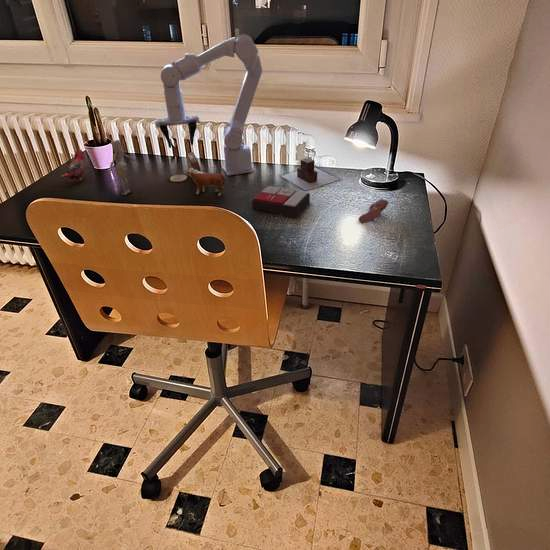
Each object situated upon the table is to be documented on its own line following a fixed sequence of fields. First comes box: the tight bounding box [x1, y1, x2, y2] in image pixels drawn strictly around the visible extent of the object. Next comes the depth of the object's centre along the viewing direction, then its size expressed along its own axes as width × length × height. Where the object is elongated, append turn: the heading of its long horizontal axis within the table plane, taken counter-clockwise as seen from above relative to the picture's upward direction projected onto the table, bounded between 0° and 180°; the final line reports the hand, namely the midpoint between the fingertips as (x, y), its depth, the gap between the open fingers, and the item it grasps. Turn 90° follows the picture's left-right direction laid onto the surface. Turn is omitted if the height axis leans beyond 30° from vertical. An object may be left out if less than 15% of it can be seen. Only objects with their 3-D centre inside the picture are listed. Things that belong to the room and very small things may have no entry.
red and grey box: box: [251, 185, 311, 219], centre depth 131 cm, size 11×4×15 cm
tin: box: [185, 151, 202, 172], centre depth 147 cm, size 15×3×8 cm, turn 19°
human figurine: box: [107, 139, 136, 196], centre depth 135 cm, size 12×4×18 cm, turn 155°
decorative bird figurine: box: [59, 148, 86, 184], centre depth 145 cm, size 3×18×10 cm, turn 174°
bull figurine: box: [186, 168, 226, 197], centre depth 138 cm, size 4×13×8 cm, turn 73°
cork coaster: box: [169, 174, 188, 183], centre depth 150 cm, size 6×6×1 cm
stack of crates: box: [280, 157, 340, 191], centre depth 147 cm, size 15×15×7 cm
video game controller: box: [358, 198, 389, 224], centre depth 123 cm, size 10×5×7 cm, turn 148°
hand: (181, 145), depth 148 cm, fingers open, 7 cm apart
